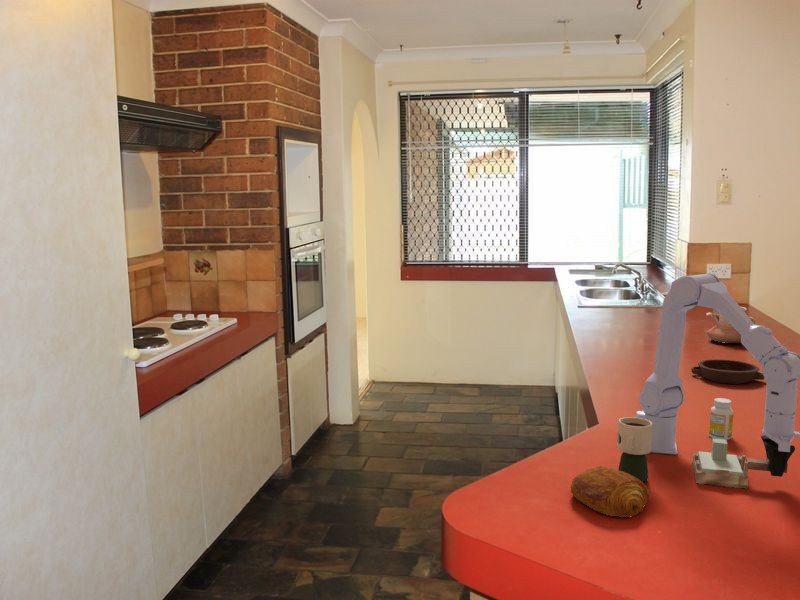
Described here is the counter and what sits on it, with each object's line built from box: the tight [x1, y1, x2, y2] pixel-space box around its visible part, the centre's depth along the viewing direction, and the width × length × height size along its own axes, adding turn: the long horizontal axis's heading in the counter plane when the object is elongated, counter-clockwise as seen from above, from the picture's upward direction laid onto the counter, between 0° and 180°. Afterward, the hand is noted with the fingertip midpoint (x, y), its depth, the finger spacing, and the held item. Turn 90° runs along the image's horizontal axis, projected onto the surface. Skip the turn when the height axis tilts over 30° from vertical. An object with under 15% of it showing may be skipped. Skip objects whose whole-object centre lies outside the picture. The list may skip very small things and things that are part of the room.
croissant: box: [570, 465, 651, 518], centre depth 152 cm, size 14×16×8 cm
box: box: [691, 449, 749, 490], centre depth 166 cm, size 10×12×6 cm
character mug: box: [616, 416, 653, 483], centre depth 163 cm, size 11×7×13 cm, turn 151°
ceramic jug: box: [706, 306, 756, 344], centre depth 301 cm, size 18×14×14 cm
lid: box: [697, 438, 743, 476], centre depth 165 cm, size 8×11×5 cm
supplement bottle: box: [708, 397, 735, 441], centre depth 190 cm, size 5×5×10 cm
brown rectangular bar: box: [745, 457, 788, 474], centre depth 160 cm, size 8×2×2 cm, turn 73°
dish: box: [690, 358, 765, 385], centre depth 246 cm, size 18×22×5 cm
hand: (775, 473), depth 160 cm, fingers closed on brown rectangular bar, 2 cm apart
